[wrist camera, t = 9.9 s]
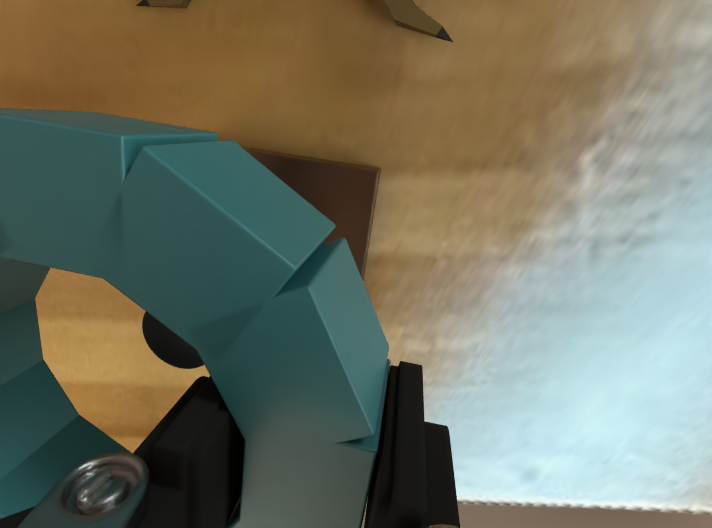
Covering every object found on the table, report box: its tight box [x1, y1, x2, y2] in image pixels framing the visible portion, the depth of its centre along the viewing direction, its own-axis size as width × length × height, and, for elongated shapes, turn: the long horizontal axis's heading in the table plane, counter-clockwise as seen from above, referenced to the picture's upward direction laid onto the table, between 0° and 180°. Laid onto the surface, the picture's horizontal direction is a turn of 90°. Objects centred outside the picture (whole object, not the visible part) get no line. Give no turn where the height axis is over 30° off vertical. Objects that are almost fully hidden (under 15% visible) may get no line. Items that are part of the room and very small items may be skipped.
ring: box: [0, 108, 391, 528], centre depth 10 cm, size 12×12×3 cm
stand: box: [142, 147, 381, 369], centre depth 18 cm, size 9×9×12 cm
